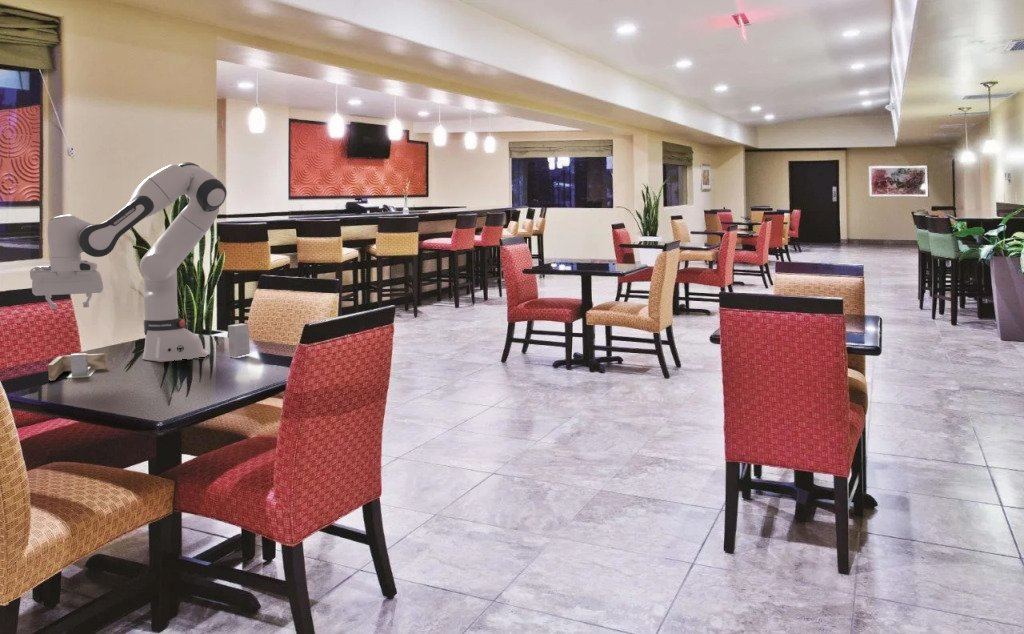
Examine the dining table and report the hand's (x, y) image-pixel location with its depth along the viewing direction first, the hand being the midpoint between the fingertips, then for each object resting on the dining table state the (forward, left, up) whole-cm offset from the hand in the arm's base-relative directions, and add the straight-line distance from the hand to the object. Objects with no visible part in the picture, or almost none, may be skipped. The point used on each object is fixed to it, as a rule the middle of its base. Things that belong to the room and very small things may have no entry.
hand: (70, 308), depth 259 cm
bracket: (-2, +2, -22) cm, 22 cm away
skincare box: (-51, -13, -22) cm, 57 cm away
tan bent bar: (-1, +2, -22) cm, 22 cm away
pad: (-2, +2, -22) cm, 22 cm away
